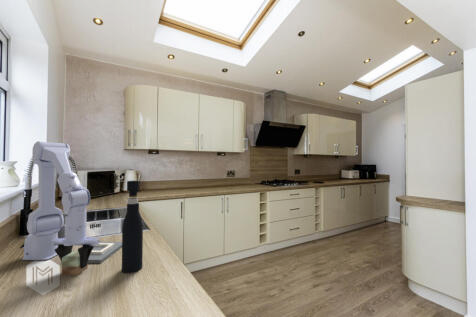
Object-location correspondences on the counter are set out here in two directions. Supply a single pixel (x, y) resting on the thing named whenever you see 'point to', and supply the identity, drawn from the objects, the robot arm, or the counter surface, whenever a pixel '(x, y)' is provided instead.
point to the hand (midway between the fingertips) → (75, 267)
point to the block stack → (72, 264)
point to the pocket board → (103, 251)
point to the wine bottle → (132, 232)
